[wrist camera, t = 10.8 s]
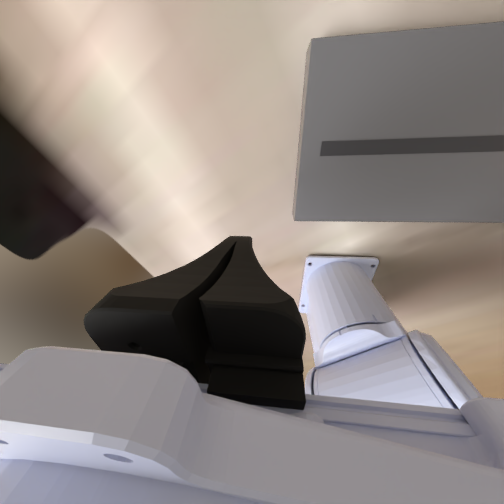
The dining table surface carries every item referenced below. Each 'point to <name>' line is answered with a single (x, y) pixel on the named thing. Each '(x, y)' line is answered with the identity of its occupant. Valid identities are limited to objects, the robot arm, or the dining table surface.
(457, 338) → the dining table surface
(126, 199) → the dining table surface
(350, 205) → the console
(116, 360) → the robot arm
